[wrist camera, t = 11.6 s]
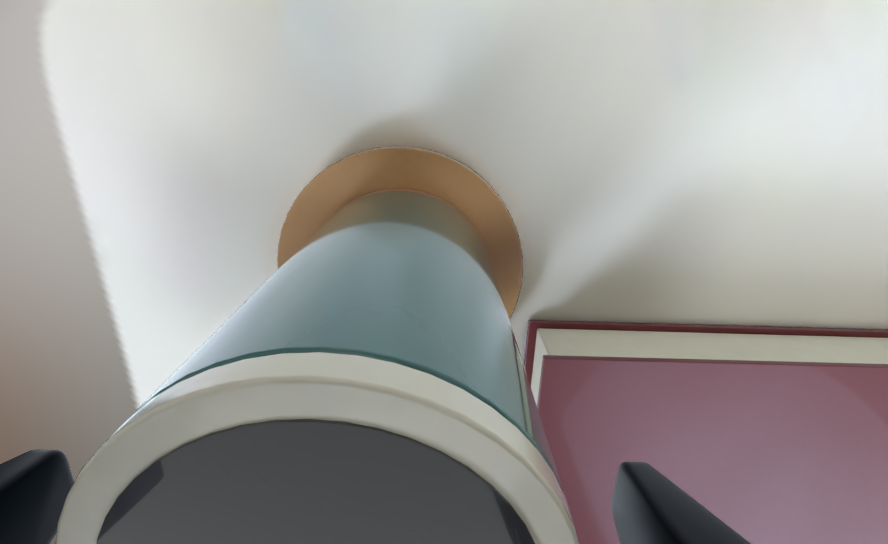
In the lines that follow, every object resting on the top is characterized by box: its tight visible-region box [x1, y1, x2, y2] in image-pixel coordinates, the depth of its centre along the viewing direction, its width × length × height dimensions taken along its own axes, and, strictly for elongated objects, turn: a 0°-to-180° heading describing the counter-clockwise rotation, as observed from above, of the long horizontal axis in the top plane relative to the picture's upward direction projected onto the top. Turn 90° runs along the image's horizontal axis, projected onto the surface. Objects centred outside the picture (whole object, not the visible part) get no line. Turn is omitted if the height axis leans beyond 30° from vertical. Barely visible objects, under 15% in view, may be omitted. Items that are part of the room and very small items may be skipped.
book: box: [524, 320, 888, 544], centre depth 20 cm, size 15×21×3 cm
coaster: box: [278, 146, 523, 318], centre depth 17 cm, size 9×9×1 cm
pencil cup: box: [55, 187, 580, 544], centre depth 12 cm, size 13×7×13 cm
